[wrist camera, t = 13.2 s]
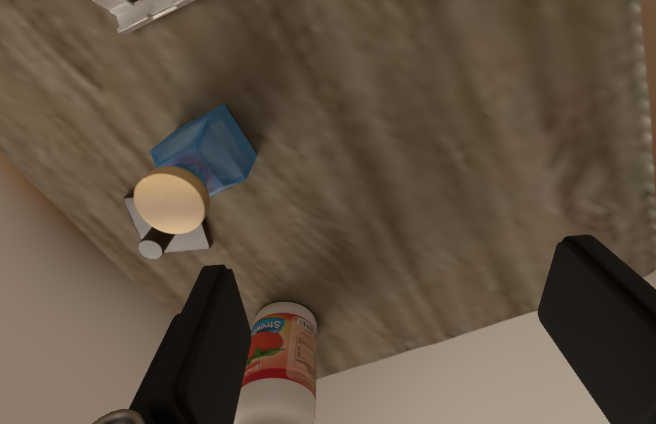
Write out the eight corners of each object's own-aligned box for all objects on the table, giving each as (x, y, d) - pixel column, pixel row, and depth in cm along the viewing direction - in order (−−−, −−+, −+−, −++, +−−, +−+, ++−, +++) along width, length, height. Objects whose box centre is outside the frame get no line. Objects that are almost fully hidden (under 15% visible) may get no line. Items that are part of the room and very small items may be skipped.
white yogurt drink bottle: (299, 351, 55) (279, 623, 30) (243, 330, 52) (173, 609, 28) (329, 313, 50) (333, 594, 26) (270, 290, 48) (215, 575, 24)
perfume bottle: (224, 103, 35) (182, 143, 25) (257, 155, 38) (231, 210, 28) (175, 130, 37) (116, 178, 26) (210, 178, 39) (169, 239, 29)
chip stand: (126, 194, 40) (97, 221, 35) (194, 187, 40) (174, 214, 35) (151, 249, 44) (128, 281, 39) (212, 244, 44) (197, 275, 39)
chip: (131, 168, 26) (121, 176, 25) (199, 162, 26) (193, 170, 24) (155, 227, 28) (147, 237, 27) (217, 221, 28) (213, 231, 27)
